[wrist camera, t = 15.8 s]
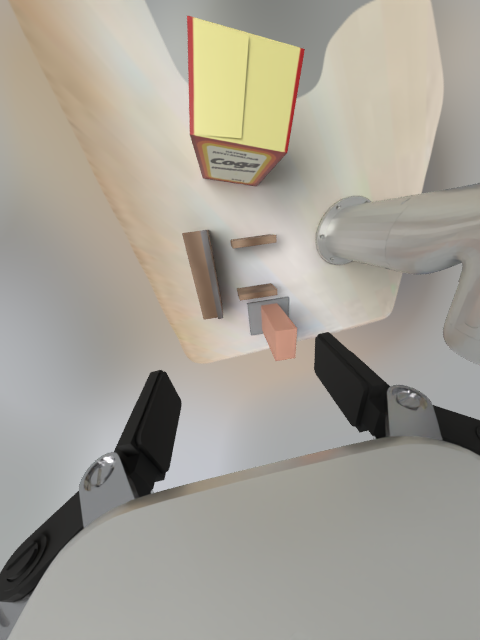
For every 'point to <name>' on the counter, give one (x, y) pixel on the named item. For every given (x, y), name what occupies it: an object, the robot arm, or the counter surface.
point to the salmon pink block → (279, 332)
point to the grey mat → (255, 312)
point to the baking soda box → (240, 100)
